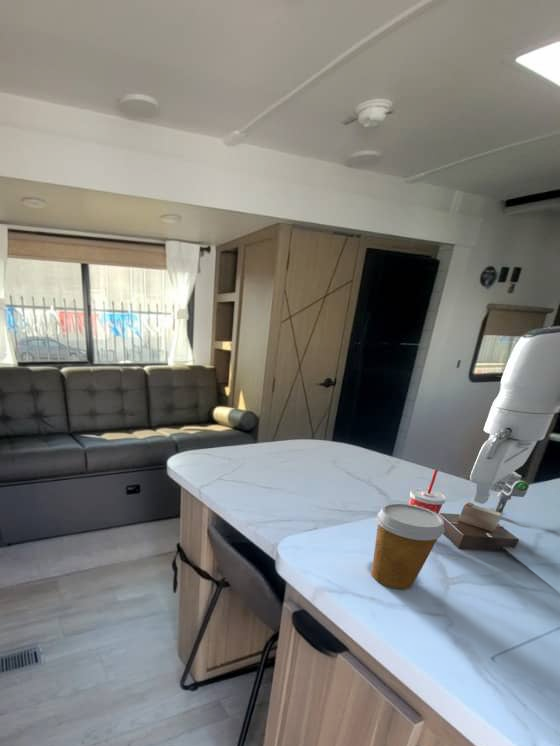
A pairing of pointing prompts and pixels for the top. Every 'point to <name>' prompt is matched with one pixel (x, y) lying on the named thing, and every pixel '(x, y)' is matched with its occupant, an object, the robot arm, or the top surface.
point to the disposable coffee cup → (404, 543)
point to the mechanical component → (511, 491)
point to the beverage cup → (428, 497)
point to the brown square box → (476, 535)
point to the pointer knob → (480, 517)
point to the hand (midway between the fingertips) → (488, 495)
